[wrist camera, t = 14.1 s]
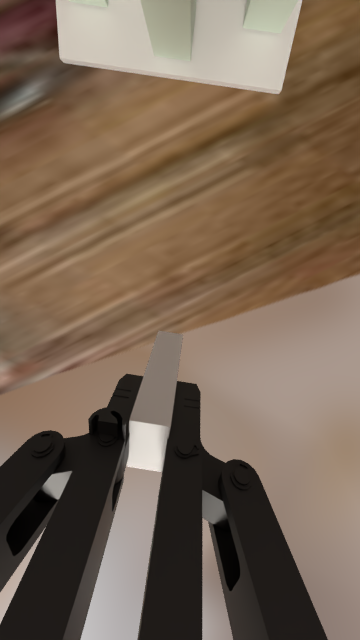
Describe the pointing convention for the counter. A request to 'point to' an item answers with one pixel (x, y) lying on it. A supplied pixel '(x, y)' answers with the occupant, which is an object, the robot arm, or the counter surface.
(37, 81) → the counter surface
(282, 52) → the button panel
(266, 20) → the pale green tall block
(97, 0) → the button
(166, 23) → the middle button
